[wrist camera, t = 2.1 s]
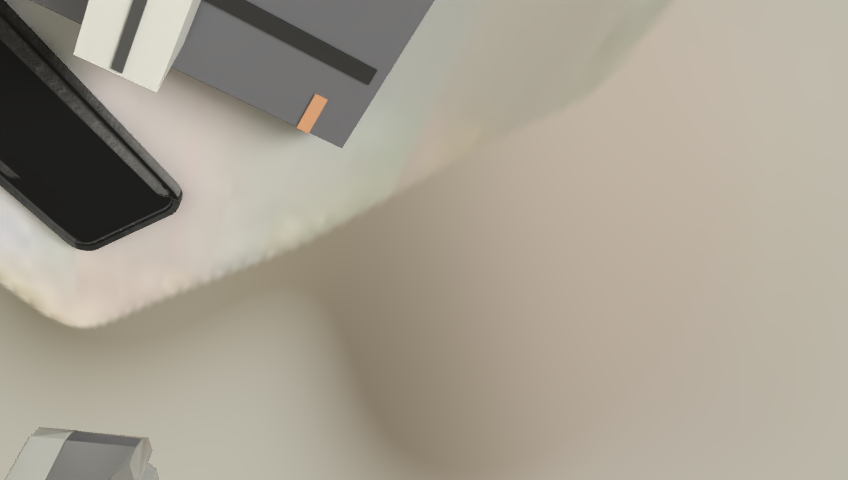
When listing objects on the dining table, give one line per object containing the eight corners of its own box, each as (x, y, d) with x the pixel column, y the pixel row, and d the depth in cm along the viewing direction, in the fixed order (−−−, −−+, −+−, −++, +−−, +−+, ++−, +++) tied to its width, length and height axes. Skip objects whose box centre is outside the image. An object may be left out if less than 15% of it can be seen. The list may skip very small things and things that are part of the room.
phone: (-50, -42, 29) (188, 207, 38) (-37, -51, 30) (192, 194, 39) (-170, 40, 32) (80, 257, 40) (-154, 30, 32) (87, 244, 41)
